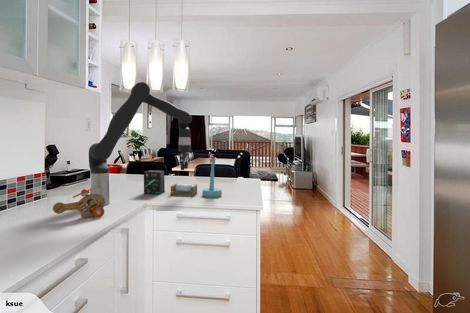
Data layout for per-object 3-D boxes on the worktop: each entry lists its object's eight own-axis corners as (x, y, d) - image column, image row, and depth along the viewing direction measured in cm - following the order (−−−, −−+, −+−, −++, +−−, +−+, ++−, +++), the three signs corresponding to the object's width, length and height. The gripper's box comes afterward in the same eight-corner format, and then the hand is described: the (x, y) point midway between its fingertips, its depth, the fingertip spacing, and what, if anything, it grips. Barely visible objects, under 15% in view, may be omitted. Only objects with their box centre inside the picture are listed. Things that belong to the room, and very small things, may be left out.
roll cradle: (193, 196, 181) (193, 186, 181) (170, 195, 182) (170, 186, 182) (197, 193, 191) (197, 184, 191) (175, 192, 192) (175, 183, 192)
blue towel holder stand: (225, 195, 184) (226, 157, 183) (211, 198, 175) (212, 158, 174) (212, 193, 193) (212, 156, 191) (198, 195, 184) (198, 156, 182)
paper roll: (193, 192, 189) (193, 184, 189) (191, 193, 184) (191, 185, 183) (177, 191, 190) (177, 183, 189) (175, 192, 184) (175, 184, 184)
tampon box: (164, 192, 194) (164, 170, 193) (159, 194, 184) (159, 172, 184) (149, 191, 195) (149, 170, 194) (143, 194, 186) (143, 171, 185)
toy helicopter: (107, 216, 133) (106, 187, 132) (54, 224, 120) (53, 192, 119) (102, 212, 139) (102, 184, 138) (52, 219, 126) (51, 189, 125)
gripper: (182, 144, 192) (181, 168, 193) (175, 144, 178) (175, 170, 179) (193, 144, 191) (192, 168, 192) (187, 144, 177) (187, 170, 178)
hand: (184, 169), depth 186 cm, fingers open, 8 cm apart
